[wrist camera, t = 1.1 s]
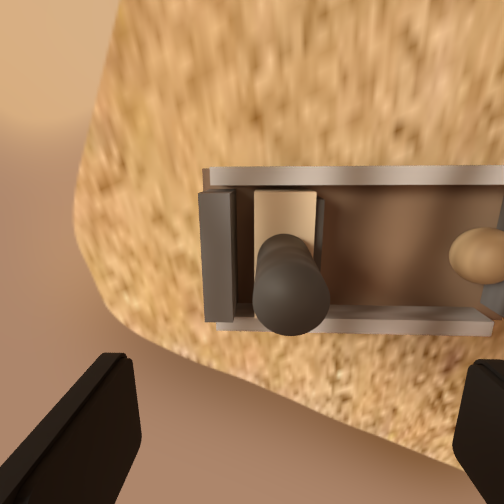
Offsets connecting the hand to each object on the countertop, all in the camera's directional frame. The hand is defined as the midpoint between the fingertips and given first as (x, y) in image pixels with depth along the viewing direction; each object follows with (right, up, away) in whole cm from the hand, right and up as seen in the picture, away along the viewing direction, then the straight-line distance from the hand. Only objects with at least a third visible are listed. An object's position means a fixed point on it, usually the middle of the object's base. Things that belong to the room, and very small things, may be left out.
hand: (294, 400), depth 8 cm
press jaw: (+1, +4, +15) cm, 16 cm away
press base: (+7, +5, +16) cm, 18 cm away
